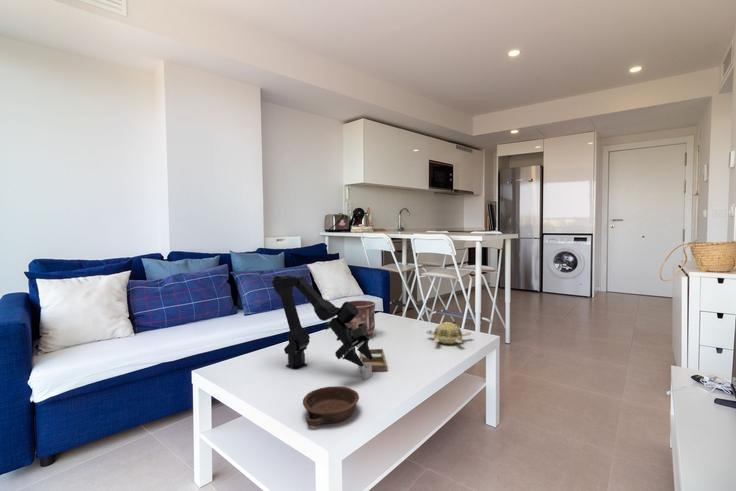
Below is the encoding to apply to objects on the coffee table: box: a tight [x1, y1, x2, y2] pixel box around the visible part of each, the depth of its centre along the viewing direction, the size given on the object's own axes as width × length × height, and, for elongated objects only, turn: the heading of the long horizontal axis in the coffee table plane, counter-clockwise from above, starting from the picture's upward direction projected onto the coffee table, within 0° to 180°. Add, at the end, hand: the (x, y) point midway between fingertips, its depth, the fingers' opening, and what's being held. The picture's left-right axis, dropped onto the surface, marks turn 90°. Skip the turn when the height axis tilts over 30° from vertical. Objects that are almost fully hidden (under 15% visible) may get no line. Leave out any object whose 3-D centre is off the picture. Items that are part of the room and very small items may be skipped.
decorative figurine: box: [425, 321, 472, 345], centre depth 184 cm, size 26×21×10 cm
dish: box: [302, 385, 360, 426], centre depth 116 cm, size 18×22×5 cm
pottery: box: [341, 299, 376, 336], centre depth 197 cm, size 18×18×18 cm
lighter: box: [357, 361, 373, 381], centre depth 141 cm, size 7×2×8 cm, turn 143°
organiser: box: [359, 348, 388, 374], centre depth 158 cm, size 20×11×2 cm, turn 3°
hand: (367, 362), depth 140 cm, fingers open, 7 cm apart
